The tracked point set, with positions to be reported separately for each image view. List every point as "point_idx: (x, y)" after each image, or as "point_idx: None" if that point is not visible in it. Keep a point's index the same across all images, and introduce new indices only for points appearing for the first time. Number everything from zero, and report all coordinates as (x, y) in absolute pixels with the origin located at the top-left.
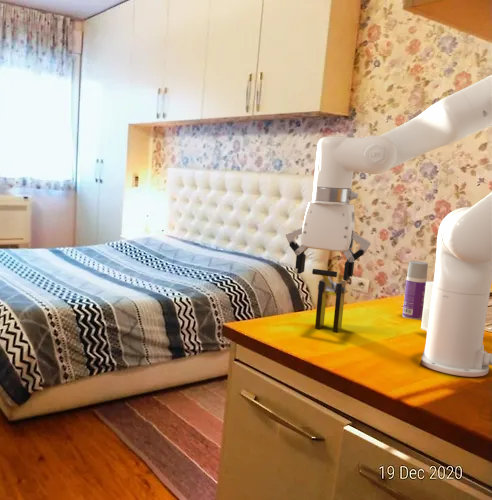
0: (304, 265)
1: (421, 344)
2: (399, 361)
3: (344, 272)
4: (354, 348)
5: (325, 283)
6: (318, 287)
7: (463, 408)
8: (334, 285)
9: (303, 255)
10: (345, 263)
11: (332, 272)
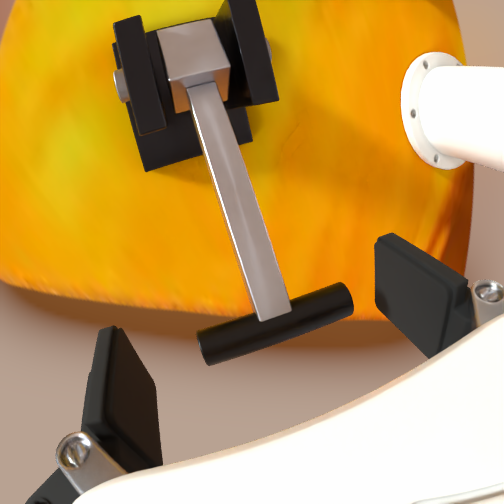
0: (119, 357)
1: (379, 3)
2: (384, 158)
3: (399, 326)
4: (290, 148)
5: (154, 74)
6: (125, 101)
7: None
8: (219, 80)
9: (128, 444)
10: (431, 357)
11: (329, 322)
